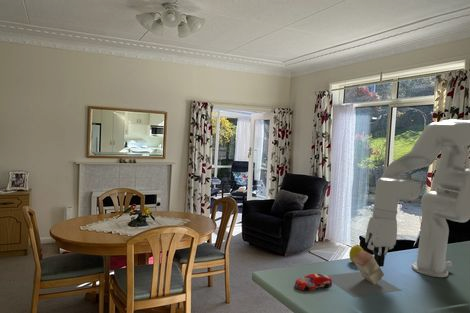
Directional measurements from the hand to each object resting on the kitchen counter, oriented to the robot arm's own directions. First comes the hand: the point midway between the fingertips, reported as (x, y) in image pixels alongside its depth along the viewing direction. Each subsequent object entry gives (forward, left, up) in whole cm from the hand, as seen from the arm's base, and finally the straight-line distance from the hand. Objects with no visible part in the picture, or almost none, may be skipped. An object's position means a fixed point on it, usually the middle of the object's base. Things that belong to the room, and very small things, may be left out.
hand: (378, 265), depth 126 cm
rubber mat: (+7, 0, -6) cm, 9 cm away
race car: (+25, -3, -7) cm, 26 cm away
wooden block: (+1, 0, -4) cm, 4 cm away
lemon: (-4, -16, -7) cm, 18 cm away
